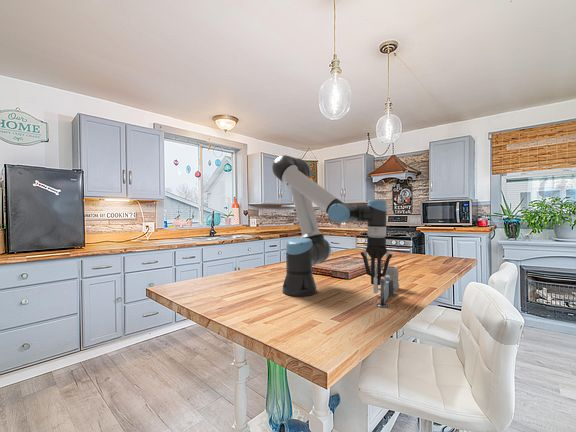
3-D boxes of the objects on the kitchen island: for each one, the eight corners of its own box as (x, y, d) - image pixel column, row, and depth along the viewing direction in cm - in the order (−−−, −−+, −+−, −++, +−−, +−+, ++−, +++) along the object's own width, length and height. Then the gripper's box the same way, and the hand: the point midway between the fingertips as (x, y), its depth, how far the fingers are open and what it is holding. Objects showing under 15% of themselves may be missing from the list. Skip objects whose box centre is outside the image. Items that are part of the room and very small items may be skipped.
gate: (386, 292, 120) (386, 275, 120) (390, 292, 119) (390, 275, 119) (380, 303, 106) (380, 283, 106) (385, 303, 105) (385, 284, 105)
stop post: (388, 296, 117) (388, 281, 117) (389, 293, 120) (389, 279, 120) (396, 297, 115) (396, 282, 115) (397, 294, 119) (397, 280, 119)
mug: (401, 290, 124) (401, 264, 124) (375, 290, 125) (375, 264, 125) (396, 286, 132) (396, 261, 132) (371, 286, 133) (370, 261, 133)
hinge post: (375, 306, 104) (375, 279, 103) (377, 303, 107) (377, 277, 107) (387, 308, 102) (387, 280, 102) (388, 305, 105) (388, 278, 105)
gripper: (359, 236, 116) (358, 292, 117) (392, 238, 110) (391, 296, 111) (362, 235, 123) (361, 288, 123) (394, 236, 117) (393, 292, 118)
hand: (375, 292), depth 117 cm, fingers closed
